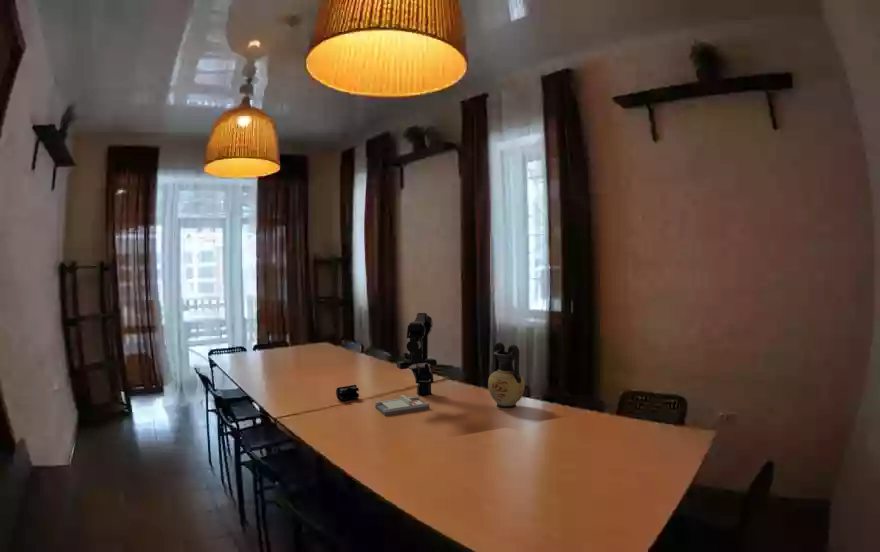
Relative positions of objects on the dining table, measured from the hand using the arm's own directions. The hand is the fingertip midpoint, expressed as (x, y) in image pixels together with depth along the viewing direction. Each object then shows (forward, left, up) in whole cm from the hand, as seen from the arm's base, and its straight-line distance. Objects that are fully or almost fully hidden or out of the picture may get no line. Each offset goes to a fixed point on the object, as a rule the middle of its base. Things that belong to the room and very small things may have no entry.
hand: (417, 381), depth 244 cm
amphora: (-36, +22, -12) cm, 44 cm away
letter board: (+8, 0, -12) cm, 14 cm away
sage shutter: (+11, 0, -10) cm, 15 cm away
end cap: (+27, -28, -12) cm, 41 cm away
